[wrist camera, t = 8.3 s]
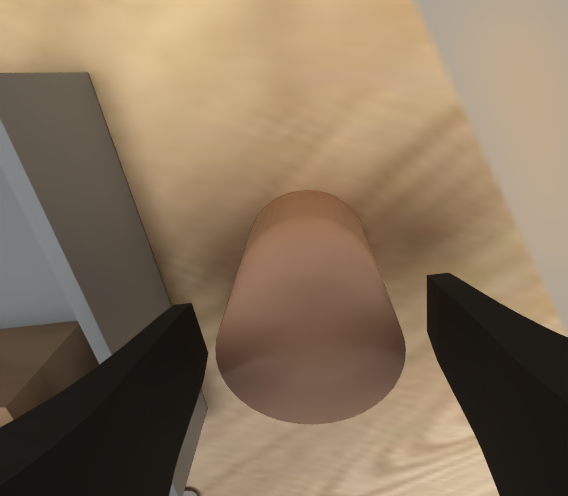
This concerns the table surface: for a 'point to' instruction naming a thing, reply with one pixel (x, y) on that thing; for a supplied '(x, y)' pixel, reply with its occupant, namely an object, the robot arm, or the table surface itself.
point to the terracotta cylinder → (309, 316)
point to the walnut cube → (40, 364)
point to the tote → (74, 226)
